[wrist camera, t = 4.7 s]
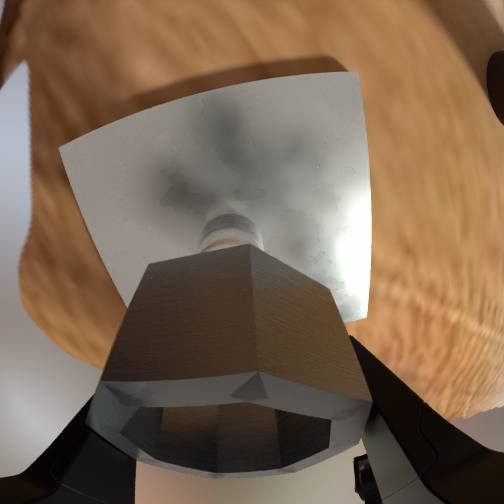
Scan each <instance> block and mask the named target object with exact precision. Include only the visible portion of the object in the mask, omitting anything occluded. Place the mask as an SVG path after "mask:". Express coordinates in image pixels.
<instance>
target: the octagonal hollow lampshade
mask: <svg viewBox="0 0 504 504" xmlns="http://www.w3.org/2000/svg"><path fill="white" fill-rule="evenodd" d="M372 404H373V400H372V397H371V394H370V391H369V388H368V386H367V383H366V380H365V377H364V375H363V372H362V369H361V366H360V364H359V361H358V358H357V356H356V353H355V350H354V348H353V345H352V343H351V340H350V337H349V335H348V332H347V330H346V327H345V325H344V322H343V320H342V317H341V315H340V312H339V310H338V308H337V305H336V303H335V300H334V298H333V296H332V293H331V291H330V289H329V288H327V287H326V286H324V285H322V284H320V283H319V282H317V281H315V280H313V279H312V278H310V277H308V276H306V275H305V274H303V273H301V272H299V271H298V270H296V269H294V268H292V267H290V266H289V265H287V264H285V263H283V262H282V261H280V260H278V259H276V258H275V257H273V256H271V255H269V254H267V253H266V252H264V251H262V250H260V249H259V248H257V247H255V246H253V245H252V244H250V243H248V244H243V245H238V246H233V247H228V248H223V249H218V250H213V251H208V252H204V253H199V254H194V255H189V256H184V257H179V258H174V259H169V260H164V261H160V262H155V263H150V264H148V266H147V268H146V270H145V272H144V274H143V276H142V278H141V280H140V282H139V285H138V287H137V289H136V291H135V293H134V295H133V297H132V300H131V302H130V304H129V306H128V308H127V311H126V313H125V315H124V317H123V320H122V322H121V324H120V327H119V329H118V332H117V334H116V337H115V339H114V342H113V344H112V347H111V349H110V352H109V355H108V357H107V360H106V363H105V365H104V368H103V371H102V374H101V376H100V379H99V382H98V385H97V388H96V391H95V394H94V397H93V400H92V403H91V406H90V409H89V412H88V416H87V419H86V422H85V423H86V424H87V425H88V426H90V427H91V428H92V429H93V430H95V431H96V432H97V433H98V434H100V435H101V436H102V437H104V438H105V439H106V440H108V441H109V442H111V443H112V444H113V445H115V446H116V447H118V448H119V449H121V450H122V451H123V452H125V453H126V454H128V455H130V456H131V457H133V458H134V459H136V460H137V461H140V462H143V463H146V464H150V465H154V466H157V467H161V468H165V469H169V470H173V471H178V472H181V473H186V474H191V475H196V476H201V477H207V478H214V479H223V478H224V479H226V478H227V479H228V478H249V477H261V476H271V475H279V474H287V473H294V472H297V471H300V470H302V469H305V468H307V467H309V466H312V465H314V464H317V463H319V462H321V461H324V460H326V459H328V458H330V457H332V456H335V455H337V454H339V453H341V452H343V451H345V450H347V449H349V448H351V447H353V446H355V445H357V444H358V443H359V441H360V438H361V436H362V433H363V430H364V428H365V425H366V422H367V419H368V416H369V413H370V410H371V407H372Z"/></svg>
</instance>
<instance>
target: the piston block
mask: <svg viewBox="0 0 504 504" xmlns="http://www.w3.org/2000/svg"><path fill="white" fill-rule="evenodd" d="M59 151H60V154H61V158H62V161H63V164H64V167H65V170H66V173H67V176H68V179H69V182H70V185H71V187H72V190H73V193H74V195H75V198H76V201H77V203H78V206H79V208H80V211H81V213H82V216H83V218H84V221H85V223H86V225H87V228H88V230H89V232H90V235H91V237H92V239H93V241H94V244H95V246H96V248H97V250H98V252H99V254H100V256H101V258H102V261H103V263H104V265H105V267H106V269H107V271H108V273H109V275H110V277H111V279H112V280H113V282H114V284H115V286H116V288H117V290H118V292H119V294H120V295H121V297H122V299H123V301H124V303H125V305H126V306H127V308H128V306H129V304H130V302H131V300H132V297H133V295H134V293H135V291H136V289H137V287H138V285H139V282H140V280H141V278H142V276H143V274H144V272H145V270H146V268H147V266H148V264H150V263H155V262H160V261H164V260H169V259H174V258H179V257H184V256H189V255H194V254H199V253H204V252H208V251H213V250H218V249H223V248H228V247H233V246H238V245H243V244H248V243H250V244H252V245H253V246H255V247H257V248H259V249H260V250H262V251H264V252H266V253H267V254H269V255H271V256H273V257H275V258H276V259H278V260H280V261H282V262H283V263H285V264H287V265H289V266H290V267H292V268H294V269H296V270H298V271H299V272H301V273H303V274H305V275H306V276H308V277H310V278H312V279H313V280H315V281H317V282H319V283H320V284H322V285H324V286H326V287H327V288H329V289H330V291H331V293H332V296H333V298H334V300H335V303H336V305H337V308H338V310H339V312H340V315H341V317H342V320H343V322H344V323H348V322H352V321H356V320H359V319H363V318H367V307H368V295H369V280H370V259H371V192H370V171H369V157H368V145H367V134H366V125H365V117H364V109H363V102H362V95H361V88H360V82H359V76H358V71H350V72H327V73H314V74H303V75H294V76H285V77H278V78H271V79H264V80H258V81H253V82H247V83H242V84H237V85H232V86H227V87H223V88H218V89H214V90H210V91H206V92H202V93H198V94H194V95H191V96H187V97H184V98H180V99H177V100H173V101H170V102H167V103H164V104H161V105H158V106H155V107H152V108H149V109H146V110H143V111H140V112H138V113H135V114H132V115H130V116H127V117H124V118H122V119H119V120H117V121H114V122H112V123H110V124H107V125H105V126H103V127H100V128H98V129H96V130H94V131H91V132H89V133H87V134H85V135H83V136H81V137H79V138H77V139H74V140H72V141H70V142H68V143H67V144H65V145H63V146H61V147H59Z"/></svg>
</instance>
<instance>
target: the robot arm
mask: <svg viewBox="0 0 504 504" xmlns="http://www.w3.org/2000/svg"><path fill="white" fill-rule="evenodd" d="M349 337H350V340H351V343H352V345H353V348H354V350H355V353H356V356H357V358H358V361H359V364H360V366H361V369H362V372H363V375H364V377H365V380H366V383H367V386H368V388H369V391H370V394H371V397H372V400H373V404H372V407H371V410H370V413H369V416H368V419H367V422H366V425H365V428H364V430H363V433H362V436H361V438H362V441H363V443H364V447H365V449H366V453H367V454H364V455H362V456H357V457H355V458H354V461H353V463H354V474H355V492H356V493H358V494H359V496H360V498H361V499H362V500H363V501H365V504H504V452H498V451H494V450H491V449H489V448H487V447H485V446H483V445H481V444H480V443H478V442H477V441H475V440H474V439H472V438H471V437H469V436H468V435H466V434H465V433H464V432H462V431H461V430H459V429H458V428H456V427H455V426H454V425H452V424H451V423H449V422H448V421H447V420H445V419H444V418H443V417H442V416H440V415H439V414H438V413H437V412H436V411H435V410H433V409H432V408H431V407H430V406H429V405H428V404H427V403H426V402H424V401H423V400H422V399H421V398H420V397H419V396H418V395H417V394H416V393H415V392H414V391H413V390H411V389H410V388H409V387H408V386H407V385H406V384H405V383H404V382H403V381H402V380H400V379H399V378H398V377H397V376H396V375H395V374H394V373H393V372H392V371H391V370H389V369H388V368H387V367H386V366H385V365H384V364H383V363H382V362H381V361H380V360H378V359H377V358H376V357H375V356H374V355H373V354H372V353H371V352H370V351H368V350H367V349H366V348H365V347H364V346H363V345H362V344H361V343H360V342H359V341H357V340H356V339H355V338H354V337H353V336H351V335H349ZM94 394H95V393H94ZM93 397H94V395H93V396H92V397H91V398H90V399H89V400H88V402H87V403H86V404H85V405H84V406H83V407H82V408H81V410H80V411H79V412H78V413H77V414H76V416H75V417H74V418H73V419H72V420H71V422H70V423H69V424H68V425H67V426H66V427H65V428H64V430H63V431H62V433H60V435H59V436H58V437H57V438H56V439H55V440H54V441H53V443H52V444H51V445H50V446H49V447H48V448H47V449H46V450H45V451H44V452H43V453H42V454H41V455H40V456H39V457H38V458H37V459H36V460H35V461H34V462H33V463H32V464H31V465H30V467H28V468H27V469H26V470H25V471H24V472H22V473H20V474H18V475H14V476H9V477H3V478H0V504H135V479H136V461H137V460H136V459H134V458H133V457H131V456H130V455H128V454H126V453H125V452H123V451H122V450H121V449H119V448H118V447H116V446H115V445H113V444H112V443H111V442H109V441H108V440H106V439H105V438H104V437H102V436H101V435H100V434H98V433H97V432H96V431H95V430H93V429H92V428H91V427H90V426H88V425H87V424H86V423H85V422H86V419H87V416H88V412H89V409H90V406H91V403H92V400H93Z"/></svg>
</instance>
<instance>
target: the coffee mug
mask: <svg viewBox="0 0 504 504" xmlns="http://www.w3.org/2000/svg"><path fill="white" fill-rule="evenodd" d="M487 87H488V93H489V97H490V101H491V104H492V107H493V109H494V112H495V114H496V116H497V117H498V119H499V120H500V122H501V123H502V124H503V125H504V51H499V52H495V53H494V54H493V55H492V56H491V57H490V59H489V62H488V67H487Z"/></svg>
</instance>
